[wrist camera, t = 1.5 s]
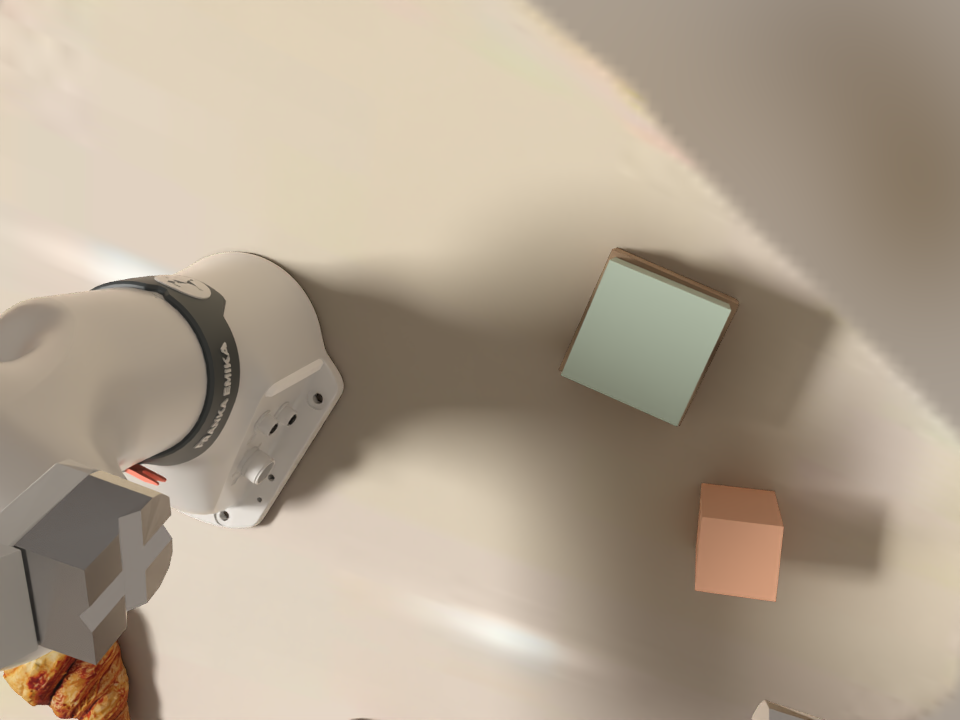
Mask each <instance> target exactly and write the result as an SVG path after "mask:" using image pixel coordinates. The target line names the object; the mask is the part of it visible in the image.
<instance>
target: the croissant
mask: <svg viewBox="0 0 960 720" xmlns="http://www.w3.org/2000/svg"><path fill="white" fill-rule="evenodd" d="M3 677H4V678H5V679H6V681H7V682H8V684H9V685H10V686H11V688H12V689H13V690H14V691H15V692H16V693H17V694H18V695H20V696H22V698H23V699H24V700H26V701H27V702H28V703H29V704H30V705H32V706H36V705H49V706H50V707H51V708H52V709H53V712H54V713H55V715H56V716H58V717H59V718H62V719H70V718H77V719H78V720H130V715H129V712H128V710H129V708H128V704H127V699H128V692H129V683H128V680H129V679H128V676H127V674H126V669H125V667H124V666H123V662H122V660H121V652H120V647H119V644H118V642H117V640H116V642H115V643H114V644H113V645H112V647H111V648H110V649H109V650H108V651H107V653H106V654H105V655H104V656H103V657H102V659H101V660H100V661H99V662H98V664H97V665H94V664H91V663H88V662H85V661H82V660H79V659H77V658H74V657H71V656H68V655H65V654H62V653H59V652H56V651H54V650H53V651H51V652H49V653H47V654H45V655H43V656H42V657H40V658H38V659H36V660H34V661H31V662H28V663H26V664H23V665H20V666H17V667H15V668H12V669H8V670H4V675H3Z"/></svg>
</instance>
